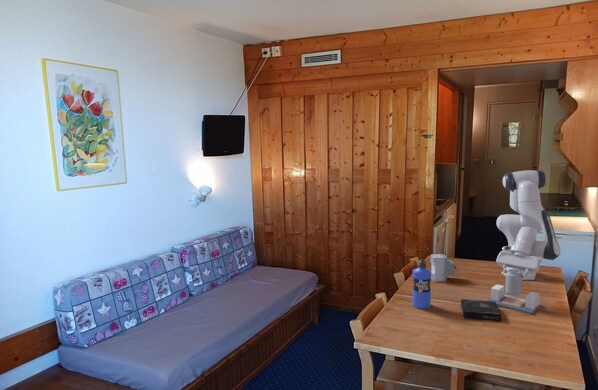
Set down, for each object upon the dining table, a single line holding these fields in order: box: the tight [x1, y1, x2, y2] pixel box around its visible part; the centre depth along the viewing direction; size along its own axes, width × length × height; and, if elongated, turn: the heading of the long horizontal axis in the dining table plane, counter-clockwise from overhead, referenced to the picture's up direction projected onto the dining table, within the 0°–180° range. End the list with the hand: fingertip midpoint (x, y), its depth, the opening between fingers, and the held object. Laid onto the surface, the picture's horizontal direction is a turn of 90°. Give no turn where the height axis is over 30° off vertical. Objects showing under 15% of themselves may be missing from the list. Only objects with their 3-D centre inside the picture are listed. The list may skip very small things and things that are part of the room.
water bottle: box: [412, 258, 432, 310], centre depth 218 cm, size 9×9×25 cm
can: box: [504, 270, 523, 296], centre depth 216 cm, size 8×8×12 cm
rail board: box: [486, 284, 542, 316], centre depth 218 cm, size 15×22×7 cm
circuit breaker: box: [429, 253, 457, 283], centre depth 259 cm, size 8×14×15 cm, turn 89°
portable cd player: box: [460, 298, 502, 322], centre depth 209 cm, size 16×17×4 cm
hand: (513, 274), depth 215 cm, fingers closed on can, 7 cm apart
